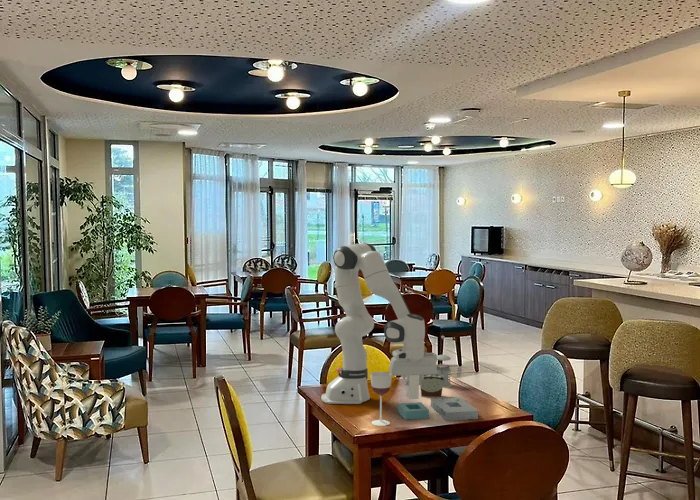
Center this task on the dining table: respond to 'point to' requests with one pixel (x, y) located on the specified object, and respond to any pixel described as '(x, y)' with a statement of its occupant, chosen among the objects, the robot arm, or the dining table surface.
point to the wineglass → (381, 391)
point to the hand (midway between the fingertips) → (412, 385)
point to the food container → (432, 385)
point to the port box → (454, 409)
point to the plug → (412, 387)
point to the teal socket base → (413, 410)
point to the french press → (444, 369)
